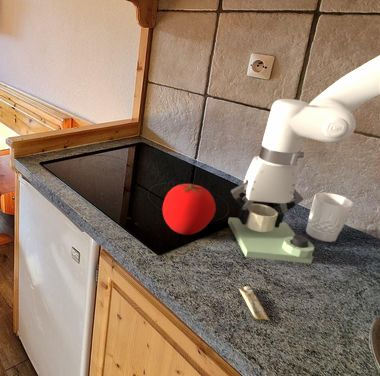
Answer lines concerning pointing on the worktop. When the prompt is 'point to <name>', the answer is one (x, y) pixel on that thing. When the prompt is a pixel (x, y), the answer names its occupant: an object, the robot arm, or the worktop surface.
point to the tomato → (188, 208)
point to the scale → (270, 243)
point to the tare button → (299, 241)
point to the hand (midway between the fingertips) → (258, 222)
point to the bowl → (261, 218)
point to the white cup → (328, 216)
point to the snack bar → (253, 303)
